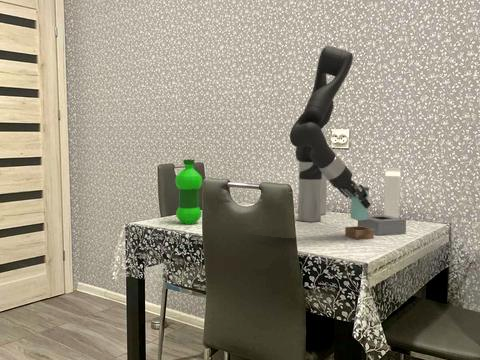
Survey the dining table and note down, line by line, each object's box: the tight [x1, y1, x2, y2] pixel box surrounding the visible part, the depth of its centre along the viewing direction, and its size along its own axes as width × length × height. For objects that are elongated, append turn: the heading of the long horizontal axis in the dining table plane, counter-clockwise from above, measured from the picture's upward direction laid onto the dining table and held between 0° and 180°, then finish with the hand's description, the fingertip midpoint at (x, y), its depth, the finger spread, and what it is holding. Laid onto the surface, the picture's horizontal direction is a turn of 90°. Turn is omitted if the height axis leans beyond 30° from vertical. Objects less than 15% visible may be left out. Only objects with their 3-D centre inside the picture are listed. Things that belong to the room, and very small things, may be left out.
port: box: [357, 214, 407, 237], centre depth 173 cm, size 12×12×5 cm
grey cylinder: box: [297, 161, 328, 216], centre depth 215 cm, size 12×12×25 cm
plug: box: [350, 186, 370, 221], centre depth 162 cm, size 4×4×11 cm
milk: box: [383, 167, 402, 218], centre depth 199 cm, size 6×6×22 cm
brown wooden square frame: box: [344, 225, 375, 240], centre depth 163 cm, size 7×7×3 cm
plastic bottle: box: [174, 158, 203, 225], centre depth 186 cm, size 10×10×25 cm
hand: (364, 205), depth 163 cm, fingers closed on plug, 4 cm apart
